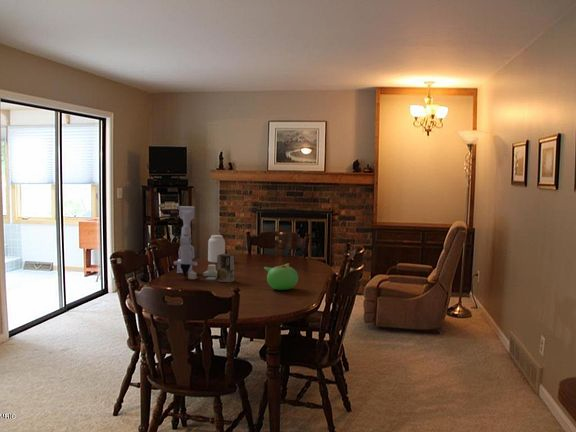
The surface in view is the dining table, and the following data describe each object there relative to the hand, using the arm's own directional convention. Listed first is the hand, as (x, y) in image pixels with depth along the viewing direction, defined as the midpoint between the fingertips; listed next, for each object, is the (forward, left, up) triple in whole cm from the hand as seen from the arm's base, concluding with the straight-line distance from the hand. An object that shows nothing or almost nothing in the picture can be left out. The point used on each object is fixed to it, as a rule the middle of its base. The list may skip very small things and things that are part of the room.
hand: (185, 276), depth 316 cm
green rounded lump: (+64, -19, -1) cm, 66 cm away
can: (+2, +67, -1) cm, 67 cm away
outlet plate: (+15, +14, -1) cm, 20 cm away
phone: (+17, 0, -2) cm, 17 cm away
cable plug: (+4, 0, -1) cm, 5 cm away
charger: (+13, +13, 0) cm, 19 cm away
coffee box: (+27, -3, -1) cm, 27 cm away
